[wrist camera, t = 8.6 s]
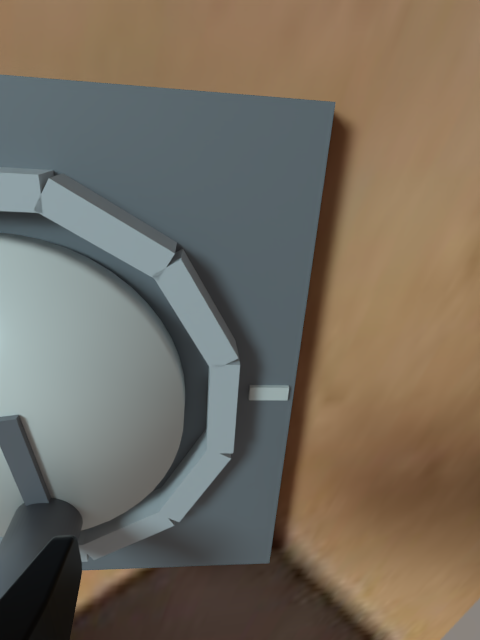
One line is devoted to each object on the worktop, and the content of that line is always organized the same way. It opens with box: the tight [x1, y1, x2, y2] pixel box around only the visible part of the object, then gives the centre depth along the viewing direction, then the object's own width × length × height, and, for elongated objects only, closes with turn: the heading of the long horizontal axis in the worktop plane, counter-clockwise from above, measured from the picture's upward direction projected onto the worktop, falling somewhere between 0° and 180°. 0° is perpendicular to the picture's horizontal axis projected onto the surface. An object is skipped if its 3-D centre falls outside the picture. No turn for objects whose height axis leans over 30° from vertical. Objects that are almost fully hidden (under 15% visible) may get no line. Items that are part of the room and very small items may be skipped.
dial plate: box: [0, 75, 335, 570], centre depth 18 cm, size 24×24×3 cm
